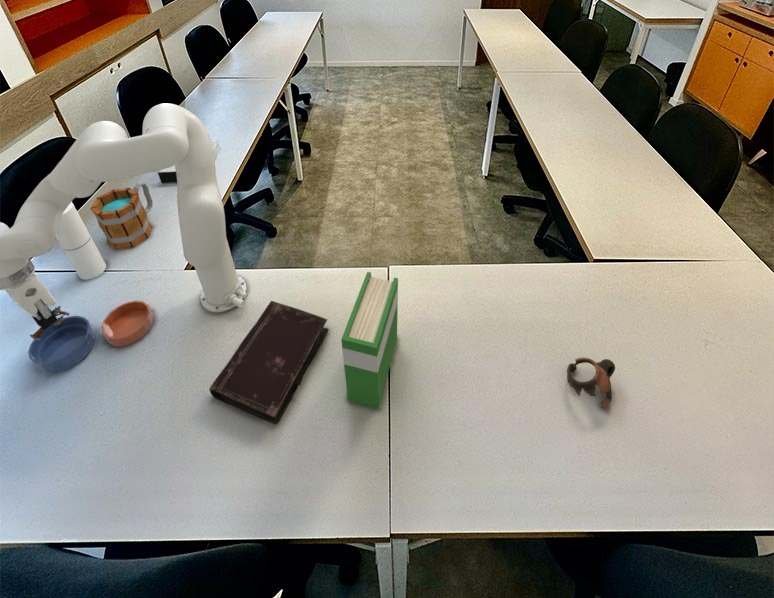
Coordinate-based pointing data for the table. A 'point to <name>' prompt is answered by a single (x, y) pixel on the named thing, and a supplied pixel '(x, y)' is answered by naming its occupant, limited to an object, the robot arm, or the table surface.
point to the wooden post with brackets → (55, 311)
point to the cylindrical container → (79, 245)
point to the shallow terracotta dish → (127, 323)
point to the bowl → (62, 344)
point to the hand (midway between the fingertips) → (48, 322)
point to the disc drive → (170, 173)
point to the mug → (123, 216)
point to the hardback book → (370, 340)
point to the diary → (271, 362)
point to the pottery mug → (600, 378)
